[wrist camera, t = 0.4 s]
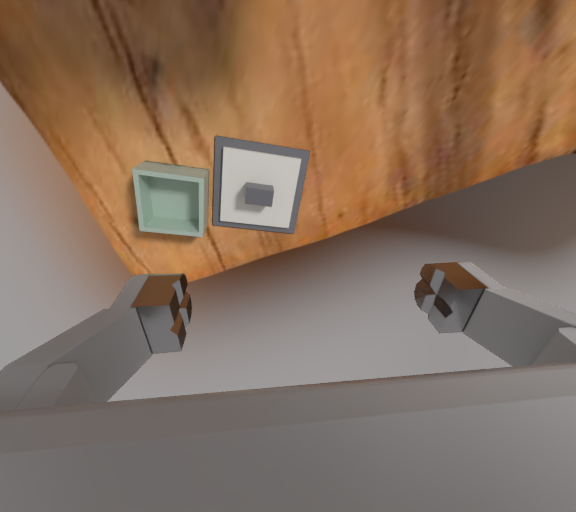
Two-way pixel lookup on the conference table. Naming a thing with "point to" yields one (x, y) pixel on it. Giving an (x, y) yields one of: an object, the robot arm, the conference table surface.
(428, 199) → the conference table surface
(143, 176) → the pale green open box
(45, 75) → the conference table surface
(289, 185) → the lid
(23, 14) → the conference table surface
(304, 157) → the mat
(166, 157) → the conference table surface
